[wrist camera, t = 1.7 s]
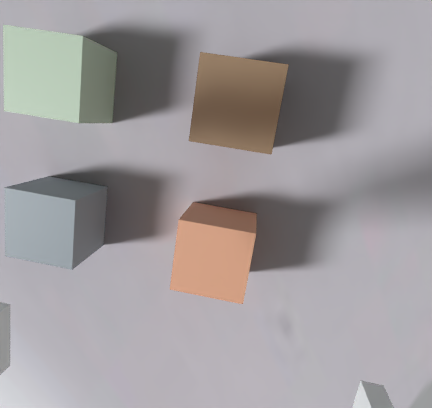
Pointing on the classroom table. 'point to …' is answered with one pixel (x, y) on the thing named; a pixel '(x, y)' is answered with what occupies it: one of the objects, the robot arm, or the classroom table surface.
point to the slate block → (54, 221)
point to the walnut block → (237, 102)
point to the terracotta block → (214, 252)
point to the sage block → (58, 76)
